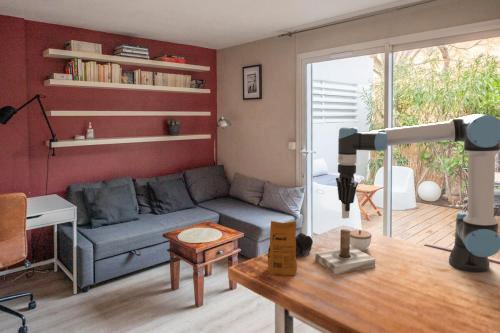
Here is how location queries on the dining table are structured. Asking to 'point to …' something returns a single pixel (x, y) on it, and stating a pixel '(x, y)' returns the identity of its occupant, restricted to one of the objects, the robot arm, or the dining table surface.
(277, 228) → the coffee package
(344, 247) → the peg
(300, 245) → the crystal cluster
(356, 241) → the lidded jar
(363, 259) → the board
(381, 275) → the dining table surface
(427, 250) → the dining table surface
